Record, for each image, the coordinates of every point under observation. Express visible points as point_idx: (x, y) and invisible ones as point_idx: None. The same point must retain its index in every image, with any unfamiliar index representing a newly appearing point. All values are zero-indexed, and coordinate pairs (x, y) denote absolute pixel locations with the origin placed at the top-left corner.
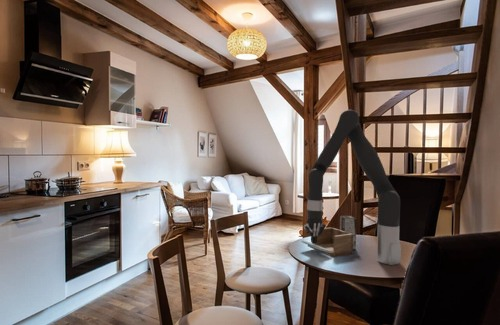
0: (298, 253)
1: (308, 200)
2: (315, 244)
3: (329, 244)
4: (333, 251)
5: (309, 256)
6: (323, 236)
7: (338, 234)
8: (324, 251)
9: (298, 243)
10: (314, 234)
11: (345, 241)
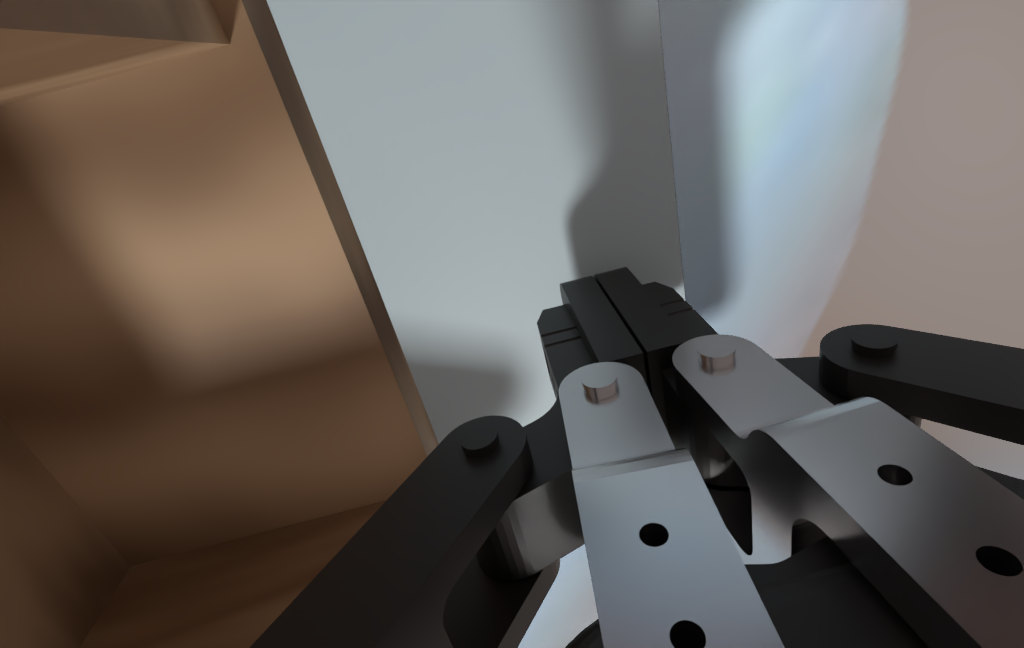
0: (771, 281)
1: None
2: None
3: (182, 492)
4: (222, 37)
5: (694, 113)
6: (240, 640)
7: None
8: (362, 261)
9: (559, 621)
10: (728, 375)
11: None
